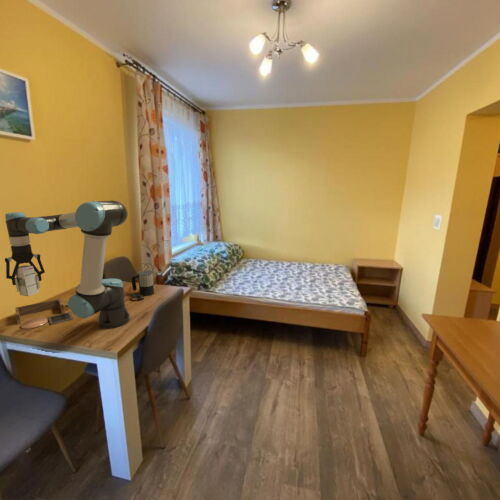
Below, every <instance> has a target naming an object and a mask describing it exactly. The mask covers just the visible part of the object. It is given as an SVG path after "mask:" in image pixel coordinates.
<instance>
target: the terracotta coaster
mask: <svg viewBox="0 0 500 500" xmlns="http://www.w3.org/2000/svg"><path fill="white" fill-rule="evenodd" d="M48 322H49V319H48V317H36V318H32V319H29V320H26V321H24V322H23V323H22V324H21V325H20V328H21V329H23V330H30V329H31V330H32V329H35V328H40V327H42V326H44V325H46V324H47V323H48Z"/></svg>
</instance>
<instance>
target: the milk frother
mask: <svg viewBox="0 0 500 500" xmlns="http://www.w3.org/2000/svg"><path fill="white" fill-rule="evenodd" d="M136 279H138V287H139V288H137V281H136ZM130 280H131V286H132V291H134V292H132V293H131V296H132V297H133V298H134V299H137V300H144V299H145V297H147V296H149V297H150V296H152V295H154V294H155V288H154V271H152V270H142V271H139V272H138V274H137V273H136V274H134V275H133V276H132V277H131V279H130ZM137 289H139V293H136V291H137Z"/></svg>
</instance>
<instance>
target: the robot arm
mask: <svg viewBox="0 0 500 500" xmlns="http://www.w3.org/2000/svg"><path fill="white" fill-rule="evenodd" d="M26 215H27V214H26V213H25V212H21V211H20V212H19V211H18V212H14V211H13V212H7V213H5V216H4V217H5V225H6V229H7V235H8V240H9V244H10V245H11V246H10V251H11V256H9V257H5V258H4V262H5V264H6V267H5V269H6V270H5V278H6V279H7V280H8V279H9V280H11V282H12V286H15V287H16V292H17V293H20V292H19V287H18V282H17V277H16V273H17V270H18V267H19V266H20V265H23V264H28V265H31V266H33V268H34V270H35V273H36V278H37V284H38V289H40V288H41V286H40V282H42V275H43V274H45V269H44V266H43V263H42V261H41V254H40V253H37V254H36V253H35V254H34V253H33V250H32V245H31V244H30V243H31V240H30V239H31V238H30V234H35V235H40V234H41V235H43V234H45V233H47V232H48V233H49V232H52V231H59V230H66V229H73V228H79V229H80V232H81V234H83V235H84V239H83V249H82V262H81V272H80V280H79V281H80V283H79V284H78V285H76V287H75V291H74V292H75V293H74V294H73V295H72V296H70V297H69V298H68V301H67V302H68V305H69V306H68V305H67V306H68V308H69V310H70V311H71V313H72V314H73V315H75V317H77V318H81V319H87V318H89V317H92V316H94V315H95V314H97V313H99V314H98V319H97V325H98V327H100V328H102V329H113V328H119V327H121V326H124V325H126V324H127V323H129V321H130V320H131V315H130V313H129V310H128V308H127V307H126V301H125V288H124V283H123V281H122V280H121V279H119V278H103V275H104V268H105V258H106V250H107V241H108V238H109V237H111V235H112V232H113V227H118V226H121V225H123V224H124V223H125V222H126V221H127V218H128V215H129V214H128V209H127V207H126V206H125V205H124V204H123V203H121V201H118V200H99V201H98V200H97V201H96V200H91V201H86V202H83V203H82V204H80V205H79V206H78V207H77V208H76V210H75V211H74V212H65V213H62V214H53V215H44V216H41V215H40V216H32V217H31V216H29V217H28V216H26ZM33 258H35V260H37V263H38V265H39V269H40V270H39V269H38V267H36V265H35V264H34V262H33V261H32V259H33ZM12 260H13V261H14V262H15V265H14V269H13V271H12V274H11V273H10V270H11V269H10V268H11V267H10V266H11V262H12ZM10 274H11V275H10Z"/></svg>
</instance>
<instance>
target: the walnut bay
mask: <svg viewBox="0 0 500 500" xmlns="http://www.w3.org/2000/svg"><path fill="white" fill-rule="evenodd" d="M57 308H59V310H60V312H61V314H64V313H66V312H65V306H64V303H63V301H62V299H61V298H55V299H51V300H46V301H41V302H36V303H32V304H31V303H30V304H26V305H22V306H17V307H15V318H16V322H17V325H20V324H21V317H23V316H28V315H33V314H36V313H39V312H40V313H41V312H45V311H49V310H53V309H54V310H55V309H57Z"/></svg>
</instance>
